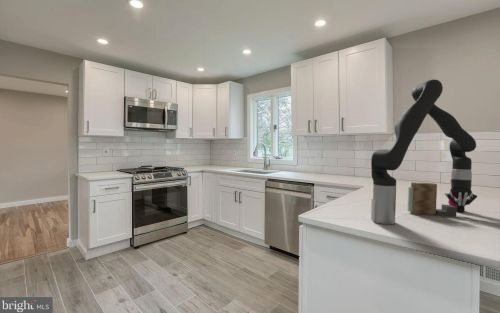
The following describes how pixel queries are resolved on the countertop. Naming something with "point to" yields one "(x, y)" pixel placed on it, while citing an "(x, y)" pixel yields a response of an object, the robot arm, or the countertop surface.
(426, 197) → the brown upright flat box
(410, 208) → the sliding door
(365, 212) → the countertop surface
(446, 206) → the block
